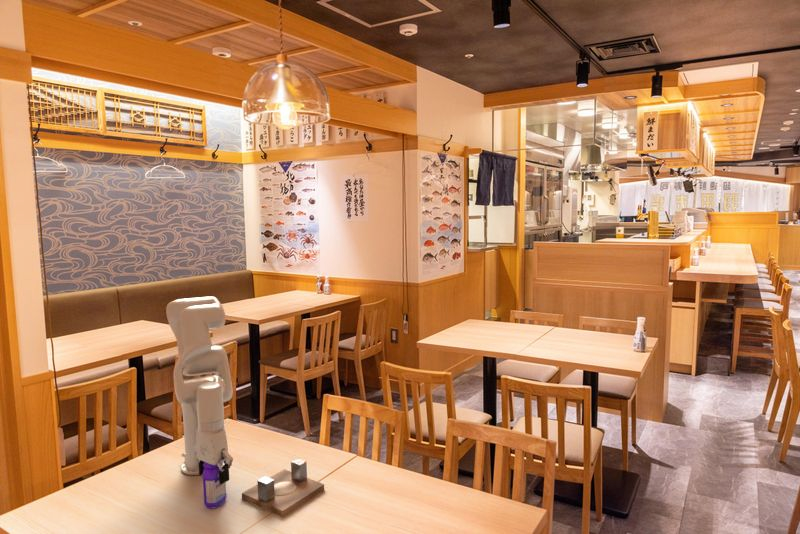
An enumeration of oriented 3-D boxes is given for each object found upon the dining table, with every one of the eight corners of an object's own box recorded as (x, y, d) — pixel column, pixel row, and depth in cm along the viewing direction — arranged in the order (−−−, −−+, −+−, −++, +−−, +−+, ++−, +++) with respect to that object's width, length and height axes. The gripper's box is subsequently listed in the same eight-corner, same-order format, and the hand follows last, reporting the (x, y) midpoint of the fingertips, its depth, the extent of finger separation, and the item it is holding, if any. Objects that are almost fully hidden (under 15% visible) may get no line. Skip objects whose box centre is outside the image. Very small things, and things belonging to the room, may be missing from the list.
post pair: (258, 499, 164) (257, 480, 163) (298, 475, 178) (297, 458, 177) (267, 503, 162) (266, 484, 161) (307, 478, 176) (306, 461, 175)
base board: (241, 499, 168) (241, 492, 167) (284, 474, 182) (284, 468, 182) (282, 517, 158) (282, 510, 157) (324, 490, 172) (324, 483, 172)
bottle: (217, 510, 161) (214, 455, 159) (200, 508, 162) (197, 454, 160) (229, 497, 168) (227, 444, 166) (213, 496, 170) (210, 443, 168)
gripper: (182, 422, 164) (186, 475, 166) (219, 435, 155) (222, 491, 157) (204, 413, 170) (206, 465, 172) (240, 426, 161) (242, 480, 163)
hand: (214, 477), depth 164 cm, fingers open, 9 cm apart
